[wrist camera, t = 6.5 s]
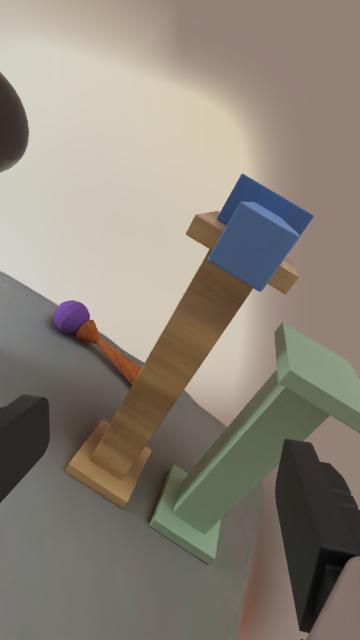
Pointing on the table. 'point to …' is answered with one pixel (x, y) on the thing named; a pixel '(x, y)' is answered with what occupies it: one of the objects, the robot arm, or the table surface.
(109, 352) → the kendama
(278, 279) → the tall stand
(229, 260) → the peg
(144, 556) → the table surface
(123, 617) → the table surface
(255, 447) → the green pillar
